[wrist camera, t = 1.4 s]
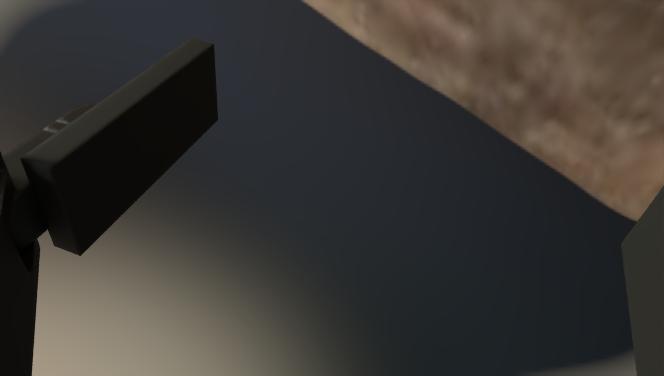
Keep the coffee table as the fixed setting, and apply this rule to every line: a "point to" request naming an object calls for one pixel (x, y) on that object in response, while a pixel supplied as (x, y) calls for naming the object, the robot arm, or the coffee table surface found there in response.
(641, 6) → the coffee table surface
